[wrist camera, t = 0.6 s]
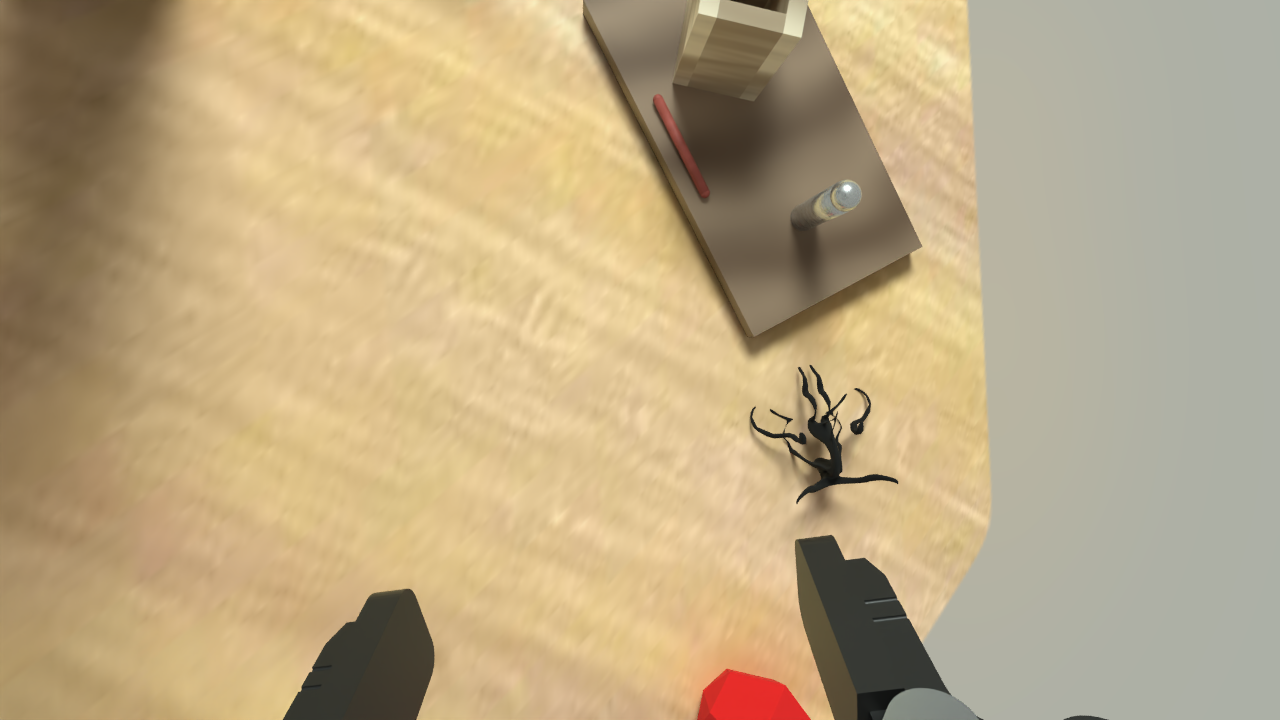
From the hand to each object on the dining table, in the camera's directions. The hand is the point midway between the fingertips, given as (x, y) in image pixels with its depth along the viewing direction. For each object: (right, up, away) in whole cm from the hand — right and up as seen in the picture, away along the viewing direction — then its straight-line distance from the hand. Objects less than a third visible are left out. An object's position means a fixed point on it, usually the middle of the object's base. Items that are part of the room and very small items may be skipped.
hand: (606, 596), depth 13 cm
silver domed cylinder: (+11, +14, +25) cm, 30 cm away
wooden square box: (+6, +23, +24) cm, 34 cm away
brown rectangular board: (+8, +19, +26) cm, 33 cm away
